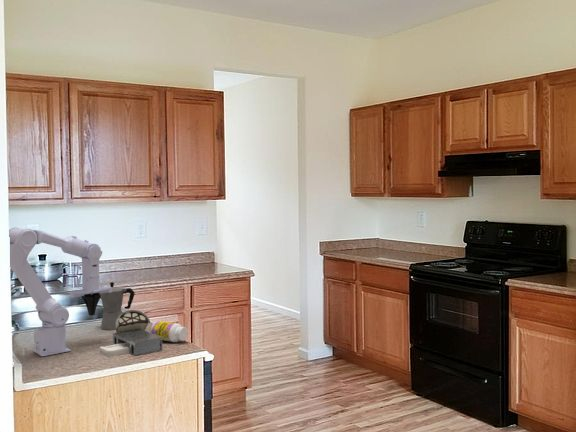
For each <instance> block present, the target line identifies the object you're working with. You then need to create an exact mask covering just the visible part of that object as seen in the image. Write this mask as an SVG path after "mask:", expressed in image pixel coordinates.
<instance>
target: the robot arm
mask: <svg viewBox="0 0 576 432" xmlns="http://www.w3.org/2000/svg"><path fill="white" fill-rule="evenodd" d="M8 230H9V237H10V266H11V268H10V269H11V270H12V272H13V273H14V275H15V276H16V278H17V279H18V280H19V282H20V283H21V285H22V286H23V288H24V289H25V290H26V292H27V293H28V295H29V296H30V298H32V300H33V302H34V303H35V310H37V317H38V318H39V320H40V321H41V326H40V327H36V328H35V329H34V334H33V339H34V342H33V344H34V350H33V352H34V353H35V354H37V355H38V356H40V357H46V356H51V355H57V354H62V353H65V352H67V353H68V352H71V348H68V347H66V346H67V343H66V342H67V341H66V337H67V335H66V323H67V322H68V321H69V317H70V313H69V310H68V309H67V308H66V307H64V306H62V305H61V303H60V302H59V301H57V300H56V299H55V298H54V297H52V295H51V293H50V291H48V289H47V287H46V286H45V285H44V284H43V282H42V281H41V279H40V278H39V276H38V275H37V273H36V272H35V270H34V268H33V267H32V266H31V264H30V263H29V261H28V257H29V255H30V253H31V252H32V250H33V249H34V247H35V245H41V244H46V245H50V246H54V247H57V248H60V250H62V251H61V252H63V253H64V254H68V255H70V256H71V255H72V256H75V257H78V258H80V259H81V274H82V275H81V276H82V280H81V281H82V284H81V285H82V288H80V289H77V290H72V291H69V297H70V298H71V299H73V298H76V297H81V299H82V300H83V302H84V304H85V306H86V310H87V313H88V316H90V317H91V316H95V315H96V310H97V307H98V303H99V301H100V300H101V295H99V294H101V293H111V292H112V287H111V286H100V259H101V257H102V255H103V251H102V249H101V246H100V245H99V244H97V243H90V242H89V240H87V239H86V240H85V239H83V240H82V239H79V238H78V237H77V236H76V235H71V236H66V237H65V238H64V237H60V236H57V235H54V234H52V233H49V232H46V231H43V230H37V229H31V228H20V227H11V228H10V229H8ZM10 266H9V267H10Z"/></svg>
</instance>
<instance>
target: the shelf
mask: <svg viewBox="0 0 576 432" xmlns="http://www.w3.org/2000/svg"><path fill="white" fill-rule="evenodd" d="M112 338H113V342H112V343H113V344H112V345H115V344H120V343H125V342H128V343H130V355H133V356H134V357H136V356H140V355H141V356H142V355H144V354H145V355H146V354H150V353H153V352H159V351H163V340H162V337H160V336H158V335H155V334H152V333H151V331H147V330H145V331H144V330H142V329H135V330H129V331H124V332H118V333H116V332H113V334H112Z"/></svg>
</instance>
